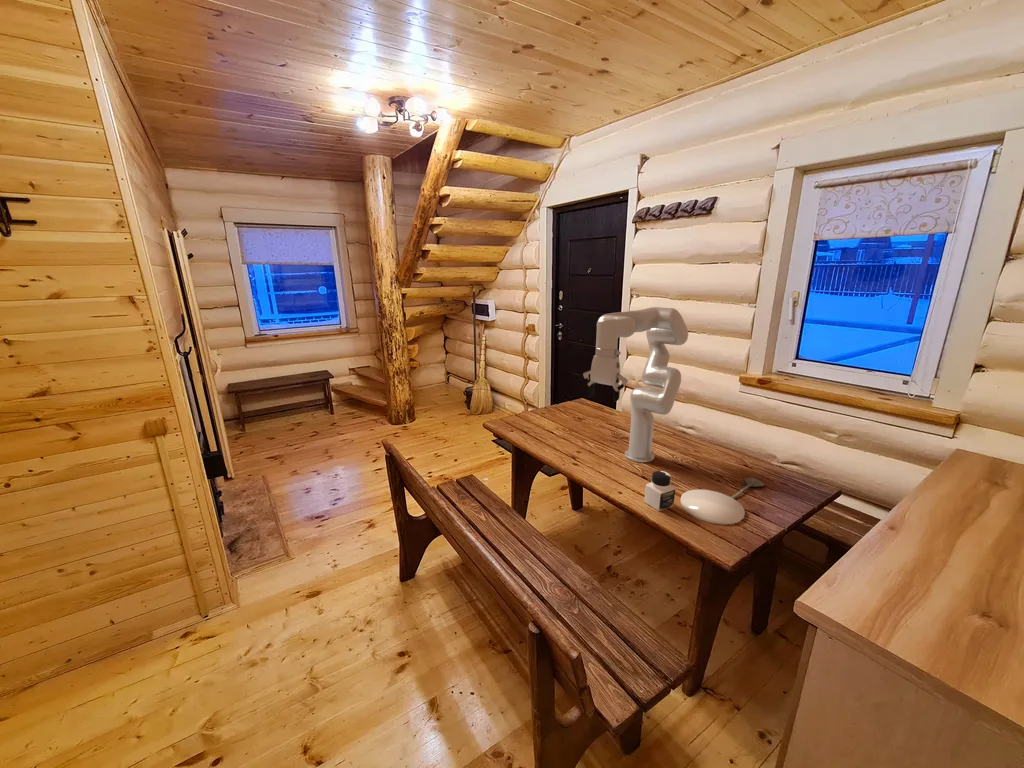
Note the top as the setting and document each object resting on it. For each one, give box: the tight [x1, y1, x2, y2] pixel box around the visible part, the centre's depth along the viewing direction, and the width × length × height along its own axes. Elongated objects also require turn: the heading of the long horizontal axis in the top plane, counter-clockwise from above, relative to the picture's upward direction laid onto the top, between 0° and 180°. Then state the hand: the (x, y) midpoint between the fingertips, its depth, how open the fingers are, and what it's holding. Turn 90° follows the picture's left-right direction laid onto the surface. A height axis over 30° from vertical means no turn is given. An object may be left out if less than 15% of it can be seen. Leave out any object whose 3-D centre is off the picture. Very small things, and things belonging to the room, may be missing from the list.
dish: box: [680, 489, 746, 526], centre depth 140 cm, size 20×20×1 cm
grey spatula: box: [730, 477, 765, 500], centre depth 151 cm, size 22×3×7 cm
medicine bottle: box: [643, 470, 676, 512], centre depth 141 cm, size 7×7×12 cm
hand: (603, 398), depth 149 cm, fingers open, 9 cm apart
